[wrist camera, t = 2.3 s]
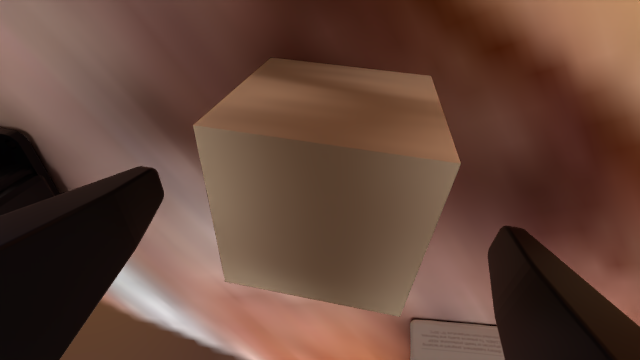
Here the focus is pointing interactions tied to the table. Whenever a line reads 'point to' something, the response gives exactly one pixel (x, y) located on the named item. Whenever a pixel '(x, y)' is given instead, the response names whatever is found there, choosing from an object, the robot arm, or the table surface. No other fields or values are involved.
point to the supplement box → (454, 341)
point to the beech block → (327, 180)
